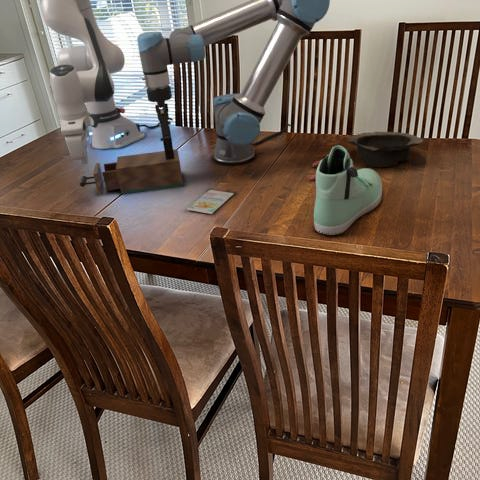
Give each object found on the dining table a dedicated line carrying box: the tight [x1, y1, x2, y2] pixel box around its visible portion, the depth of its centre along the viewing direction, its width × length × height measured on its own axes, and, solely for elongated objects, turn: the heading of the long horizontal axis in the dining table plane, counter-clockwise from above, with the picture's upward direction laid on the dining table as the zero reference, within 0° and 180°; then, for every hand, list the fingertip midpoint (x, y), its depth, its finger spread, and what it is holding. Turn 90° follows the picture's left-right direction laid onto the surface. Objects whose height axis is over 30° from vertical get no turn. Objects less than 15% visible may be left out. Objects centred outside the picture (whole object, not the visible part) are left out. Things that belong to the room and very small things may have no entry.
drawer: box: [79, 161, 120, 195], centre depth 160 cm, size 24×10×7 cm, turn 100°
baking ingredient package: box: [186, 189, 235, 215], centre depth 148 cm, size 9×1×15 cm
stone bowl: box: [347, 131, 425, 168], centre depth 166 cm, size 25×25×9 cm
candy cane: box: [309, 160, 321, 182], centre depth 162 cm, size 6×15×2 cm, turn 145°
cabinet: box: [116, 148, 184, 195], centre depth 162 cm, size 20×11×9 cm, turn 100°
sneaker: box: [313, 145, 383, 236], centre depth 133 cm, size 14×35×20 cm, turn 152°
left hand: (85, 162), depth 156 cm, fingers closed
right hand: (169, 151), depth 159 cm, fingers open, 13 cm apart
